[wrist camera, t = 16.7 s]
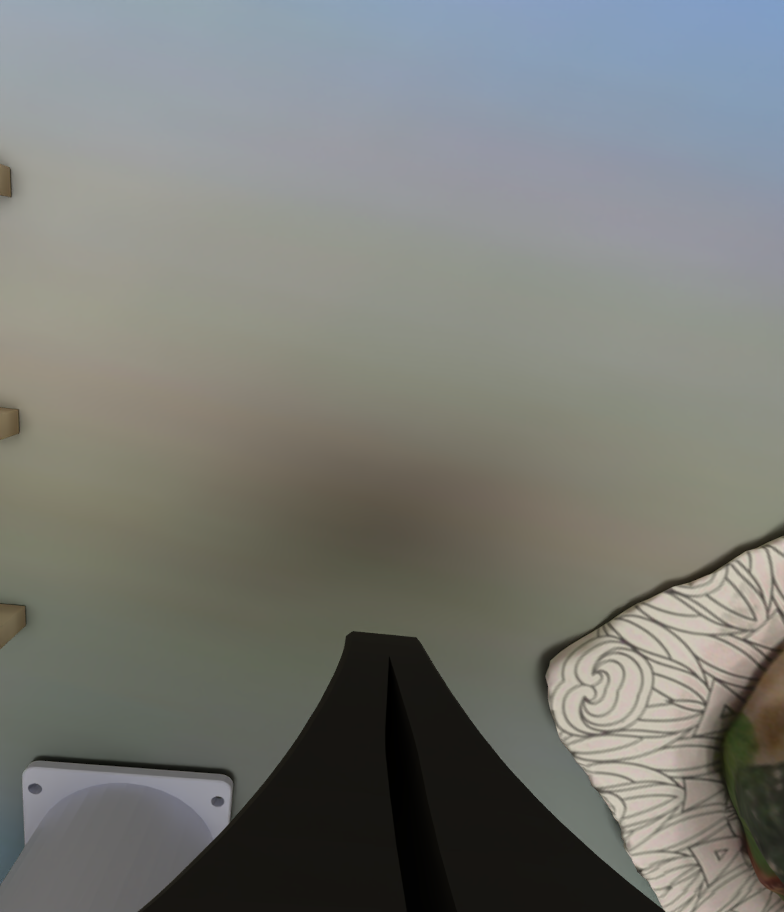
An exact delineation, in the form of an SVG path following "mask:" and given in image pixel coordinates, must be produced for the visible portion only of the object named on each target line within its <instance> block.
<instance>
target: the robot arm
mask: <svg viewBox="0 0 784 912" xmlns="http://www.w3.org/2000/svg"><path fill="white" fill-rule="evenodd" d="M37 784H39V785H37ZM22 789H23V814H24V839H25V847H24V849H23V850H22V852H21V854H20V855H19V857H18V858H17V860H16V861H15V863H14V865H13V866H12V868H11V869H10V871H9V873H8V874H7V876H6V877H5V879H4V880H3V882H2V884H1V885H0V912H665V911H664V910H663V909H662V908H660V907H659V906H658V905H657V904H655V903H654V902H653V901H652V900H650V899H649V898H648V897H646V896H645V895H644V894H643V893H641V892H640V891H639V890H638V889H636V888H635V887H634V886H633V885H631V884H630V883H629V882H628V881H626V880H625V879H624V878H623V877H622V876H620V875H619V874H618V873H617V872H616V871H615V870H613V869H612V868H611V867H610V866H609V865H608V864H606V863H605V862H604V861H603V860H602V859H600V858H599V857H598V856H597V855H596V854H595V853H594V852H593V851H592V850H590V849H589V848H588V847H587V846H586V845H585V844H584V843H583V842H582V841H581V840H580V839H578V838H577V837H576V836H575V835H574V834H573V833H572V832H571V831H570V830H569V829H568V828H566V827H565V826H564V825H563V824H562V823H561V822H560V821H559V820H558V819H557V818H556V817H555V816H554V815H553V814H552V813H551V812H550V811H549V810H548V809H547V808H546V807H545V806H544V805H543V804H542V803H541V802H540V801H539V800H538V799H537V798H536V797H535V796H534V795H533V794H532V793H531V792H530V791H529V789H528V788H527V787H526V786H525V785H524V784H523V783H522V782H521V781H520V780H519V779H518V778H517V777H516V776H515V775H514V773H513V772H512V771H511V770H510V769H509V768H508V767H507V766H506V764H505V763H504V762H503V761H502V760H501V759H500V757H499V756H498V755H497V754H496V752H495V751H494V750H493V749H492V747H491V746H490V745H489V743H488V742H487V741H486V740H485V738H484V737H483V736H482V735H481V733H480V732H479V731H478V729H477V728H476V727H475V725H474V724H473V723H472V721H471V720H470V718H469V717H468V716H467V714H466V713H465V711H464V710H463V708H462V707H461V706H460V704H459V703H458V701H457V700H456V698H455V697H454V696H453V694H452V693H451V691H450V690H449V688H448V687H447V685H446V684H445V682H444V680H443V679H442V677H441V676H440V674H439V673H438V671H437V669H436V668H435V666H434V664H433V663H432V661H431V659H430V658H429V656H428V654H427V653H426V651H425V649H424V648H423V646H422V644H421V643H420V641H419V640H418V639H417V638H416V637H406V636H396V635H386V634H375V633H365V632H355V631H353V632H351V633H350V634H348V635H347V636H346V640H345V646H344V650H343V653H342V656H341V659H340V662H339V664H338V666H337V669H336V671H335V673H334V675H333V677H332V679H331V681H330V683H329V685H328V687H327V689H326V691H325V693H324V695H323V697H322V699H321V700H320V702H319V704H318V706H317V707H316V709H315V711H314V712H313V714H312V715H311V717H310V719H309V720H308V722H307V723H306V725H305V727H304V728H303V730H302V731H301V733H300V735H299V736H298V738H297V739H296V741H295V742H294V744H293V745H292V746H291V748H290V749H289V751H288V752H287V754H286V755H285V756H284V758H283V759H282V760H281V762H280V763H279V764H278V766H277V767H276V768H275V770H274V771H273V772H272V773H271V775H270V776H269V777H268V779H267V780H266V781H265V782H264V784H263V785H262V786H261V787H260V788H259V790H258V791H257V792H256V793H255V794H254V795H253V797H252V798H251V799H250V800H249V801H248V803H247V804H246V805H245V806H244V807H243V808H242V810H241V811H240V812H239V813H238V814H237V815H236V816H235V818H234V819H233V820H232V821H231V822H230V818H231V806H232V794H233V781H232V780H231V778H230V777H228V776H226V775H223V774H213V773H199V772H186V771H172V770H159V769H146V768H132V767H119V766H105V765H92V764H78V763H65V762H52V761H34V762H31V763H30V764H29V765H28V766H27V768H26V769H25V770H24V772H23V774H22ZM216 796H219V797H222V798H217V797H216Z"/></svg>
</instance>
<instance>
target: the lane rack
mask: <svg viewBox="0 0 784 912" xmlns="http://www.w3.org/2000/svg"><path fill="white" fill-rule="evenodd" d="M0 195H1V196H8V197H11V184H10V168H9V167H7V166H4V165H2V164H0ZM18 433H19V417H18V410H17V409H9V408H1V407H0V440H1V439H4V438H7V437H10V436H13V435H15V434H18ZM25 626H26V620H25V606H18V605H8V604H0V649H1V648H2V647H3V646H4V645H5V644H6V643H7V642H8V641H10V640H11V639H12V638H13V637H14V636H15V635H16V634H17V633H18V632H19V631H20V630H21V629H22V628H24V627H25Z"/></svg>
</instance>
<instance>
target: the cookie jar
mask: <svg viewBox="0 0 784 912" xmlns="http://www.w3.org/2000/svg"><path fill="white" fill-rule="evenodd" d="M545 677H546V681H547V684H548V701H549V706H550V711H551V714H552V717H553V719H554V722H555V725H556V728H557V732H558V735H559V737H560V739H561V742H562V743H563V744H564V745H565V747H566V748H567V749H568V750H569V751H570V753H571V754H572V755H573V757H574V758H575V760H576V762H577V763H578V764H579V765H580V766H581V767H582V768H583V770H584V771H585V772H586V774H587V775H588V776H589V779H590V782H591V785H592V786H593V787H594V788H595V789H596V790H597V791H598V792H599V793H600V795H601V796H602V797H603V799H604V801H605V802H606V803H607V805H608V806H609V808H610V810H611V812H612V814H613V817H614V819H616V820H617V821H618V823H619V825H620V827H621V836H622V839H623V841H624V848H625V850H626V851H627V853H628V854H629V855H630V857H631V858H632V860H633V863H634V865H635V867H636V869H637V872H638V873H639V874H640V875H642V876H643V877H644V878H645V879H646V880H648V882H649V884H650V886H651V888H652V889H653V890H654V892H655V893H656V895H657V897H658V900H659V902H660V903H661V905H662V907H663V910H664V911H665V912H784V536H782V537H779V538H777V539H774V540H772V541H770V542H768V543H766V544H764V545H762V546H760V547H758V548H756V549H752V550H748V551H745V552H744V553H742V554H741V555H739V556H737V557H736V558H734V559H733V560H731V561H730V562H728V563H727V564H725V565H724V566H722V567H721V568H719V569H717V570H716V571H714V572H713V573H711V574H710V575H707V576H704V577H702V578H699V579H697V580H694V581H692V582H689V583H686V584H682V585H678V586H674V587H671V588H669V589H667V590H665V591H664V592H662V593H660V594H658V595H656V596H654V597H652V598H650V599H647V600H645V601H642V602H640V603H637V604H635V605H634V606H632V607H630V608H629V609H627V610H625V611H624V612H622V613H621V614H619V615H618V616H616V617H615V618H613V619H612V620H610V621H609V622H607V623H606V624H604V625H603V626H601V627H600V628H598V629H596V630H595V631H593V632H591V633H590V634H588V635H586V636H584V637H583V638H581V639H579V640H578V641H576V642H574V643H573V644H571V645H569V646H568V647H567V648H565V649H564V650H562V651H561V652H560V653H558V654H557V655H556V656H555V657H554V658H553V659H552V660H550V664H549V668H548V670H547V673H546V675H545Z"/></svg>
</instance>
